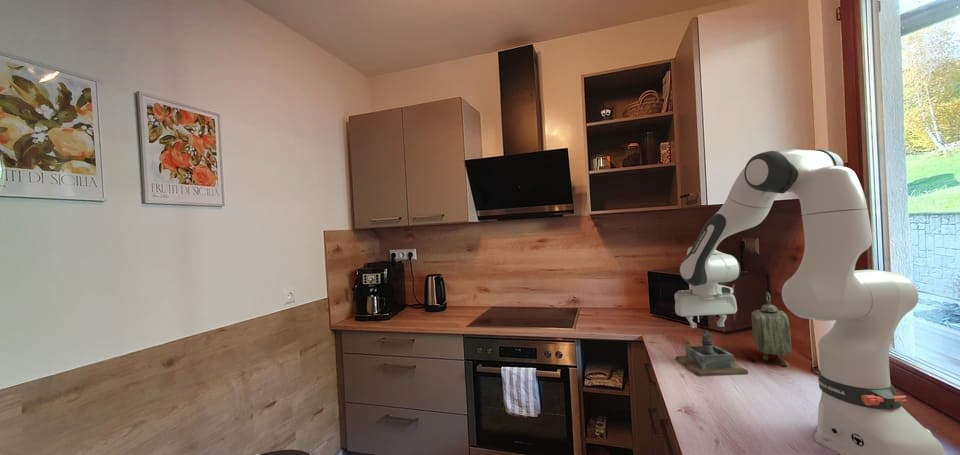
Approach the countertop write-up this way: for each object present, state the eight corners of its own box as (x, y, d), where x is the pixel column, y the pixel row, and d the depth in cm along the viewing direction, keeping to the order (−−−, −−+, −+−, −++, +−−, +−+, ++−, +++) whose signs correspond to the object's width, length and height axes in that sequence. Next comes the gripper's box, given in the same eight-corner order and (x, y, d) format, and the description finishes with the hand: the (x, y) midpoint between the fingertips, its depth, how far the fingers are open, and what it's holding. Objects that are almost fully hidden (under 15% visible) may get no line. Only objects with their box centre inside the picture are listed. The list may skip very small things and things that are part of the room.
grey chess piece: (713, 359, 129) (710, 327, 129) (722, 365, 123) (719, 332, 123) (696, 360, 130) (693, 328, 130) (704, 366, 124) (701, 332, 124)
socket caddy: (748, 374, 118) (746, 357, 118) (699, 376, 119) (697, 359, 119) (718, 357, 134) (717, 342, 134) (676, 359, 135) (674, 344, 135)
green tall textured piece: (793, 369, 119) (787, 296, 120) (760, 365, 124) (754, 295, 125) (784, 355, 132) (778, 289, 132) (754, 352, 137) (748, 288, 137)
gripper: (678, 291, 125) (682, 330, 124) (737, 288, 123) (742, 327, 123) (669, 289, 131) (673, 326, 130) (726, 286, 130) (730, 323, 129)
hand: (707, 327), depth 126 cm, fingers open, 8 cm apart
